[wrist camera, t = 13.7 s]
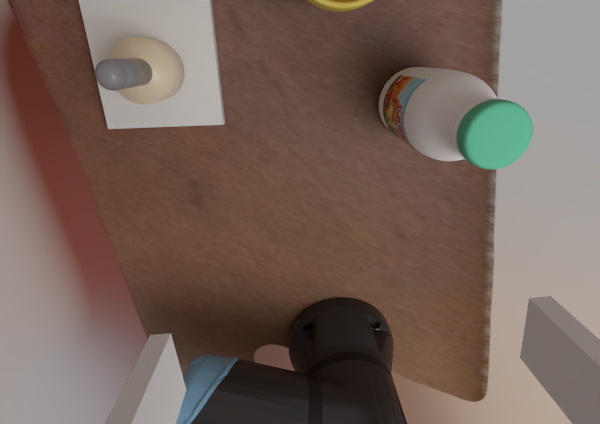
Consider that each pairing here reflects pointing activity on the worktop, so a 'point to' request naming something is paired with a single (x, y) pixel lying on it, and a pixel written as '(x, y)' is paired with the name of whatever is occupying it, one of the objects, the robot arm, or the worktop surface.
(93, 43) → the assembly board
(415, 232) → the worktop surface
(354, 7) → the plant pot
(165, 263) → the worktop surface
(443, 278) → the worktop surface
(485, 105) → the milk bottle
